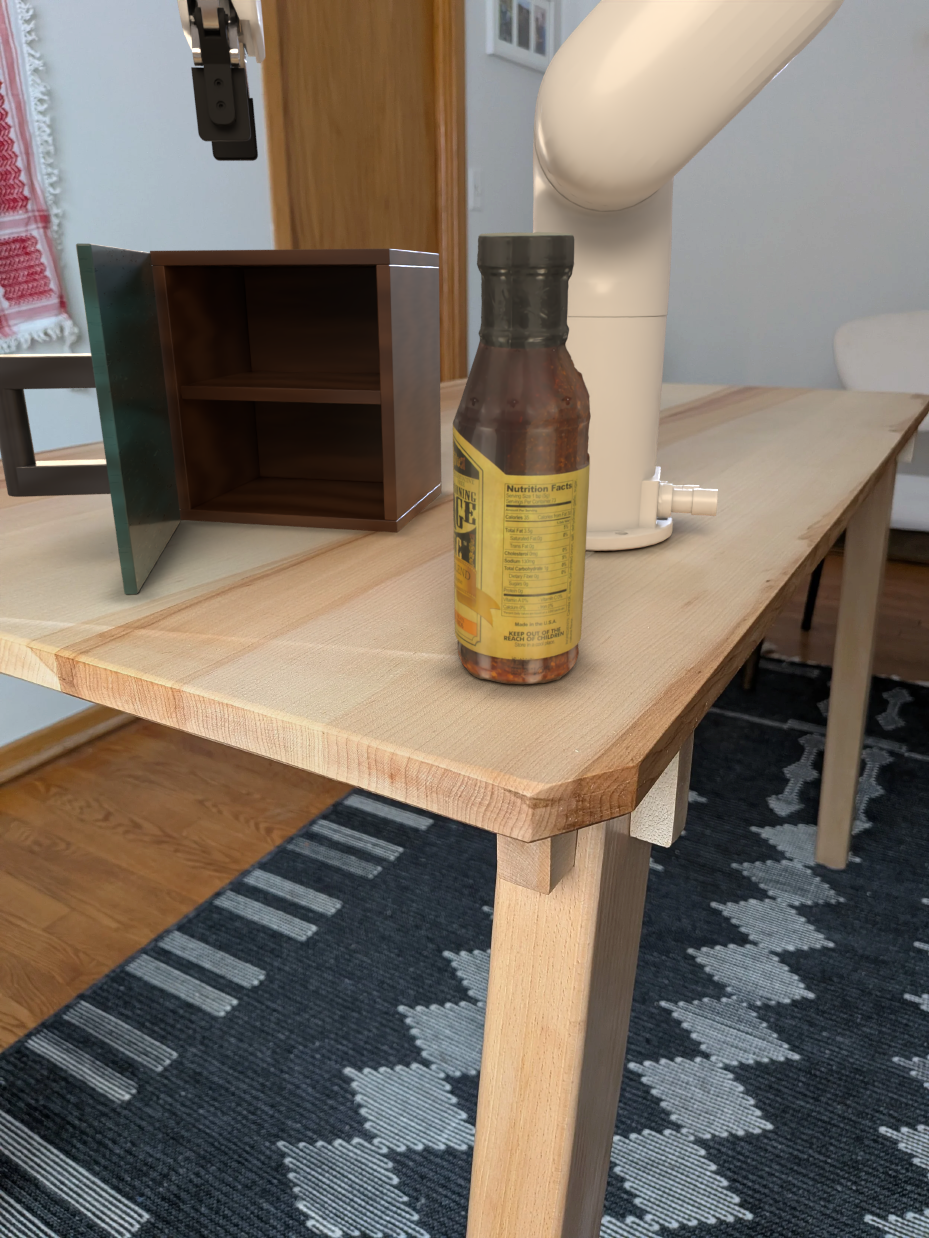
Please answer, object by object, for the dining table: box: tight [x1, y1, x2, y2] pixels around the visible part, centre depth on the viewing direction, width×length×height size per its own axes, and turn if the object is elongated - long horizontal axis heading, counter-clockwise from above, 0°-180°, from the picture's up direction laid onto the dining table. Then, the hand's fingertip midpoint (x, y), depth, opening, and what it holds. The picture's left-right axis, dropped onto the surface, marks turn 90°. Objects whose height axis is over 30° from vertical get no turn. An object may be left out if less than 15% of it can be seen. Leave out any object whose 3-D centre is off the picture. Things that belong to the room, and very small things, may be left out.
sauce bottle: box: [452, 232, 591, 685], centre depth 42 cm, size 7×6×20 cm
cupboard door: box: [0, 243, 182, 595], centre depth 60 cm, size 7×18×20 cm, turn 8°
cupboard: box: [149, 248, 442, 533], centre depth 74 cm, size 14×18×20 cm
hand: (231, 151), depth 62 cm, fingers open, 9 cm apart
